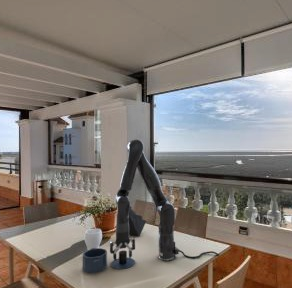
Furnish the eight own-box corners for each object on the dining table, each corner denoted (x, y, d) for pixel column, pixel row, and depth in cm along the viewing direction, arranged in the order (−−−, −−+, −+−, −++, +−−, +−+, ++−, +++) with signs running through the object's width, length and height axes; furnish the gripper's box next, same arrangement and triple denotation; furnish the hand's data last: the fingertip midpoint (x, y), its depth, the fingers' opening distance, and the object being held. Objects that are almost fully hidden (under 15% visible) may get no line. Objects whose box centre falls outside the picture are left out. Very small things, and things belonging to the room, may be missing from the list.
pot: (104, 259, 145) (104, 245, 145) (109, 273, 129) (109, 257, 129) (81, 263, 140) (81, 248, 140) (84, 278, 124) (84, 261, 124)
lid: (131, 257, 147) (131, 245, 148) (137, 267, 135) (137, 254, 135) (108, 261, 142) (108, 249, 142) (113, 272, 130) (112, 259, 130)
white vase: (88, 251, 157) (87, 228, 157) (104, 251, 156) (104, 228, 157) (81, 259, 146) (81, 233, 146) (99, 259, 146) (98, 233, 146)
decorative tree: (124, 237, 190) (107, 206, 172) (132, 222, 202) (118, 191, 183) (141, 240, 184) (125, 208, 166) (148, 224, 196) (134, 192, 178)
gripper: (133, 226, 145) (133, 254, 145) (108, 229, 140) (108, 258, 139) (136, 230, 138) (136, 259, 138) (111, 233, 133) (111, 264, 132)
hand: (122, 258), depth 139 cm, fingers open, 8 cm apart
